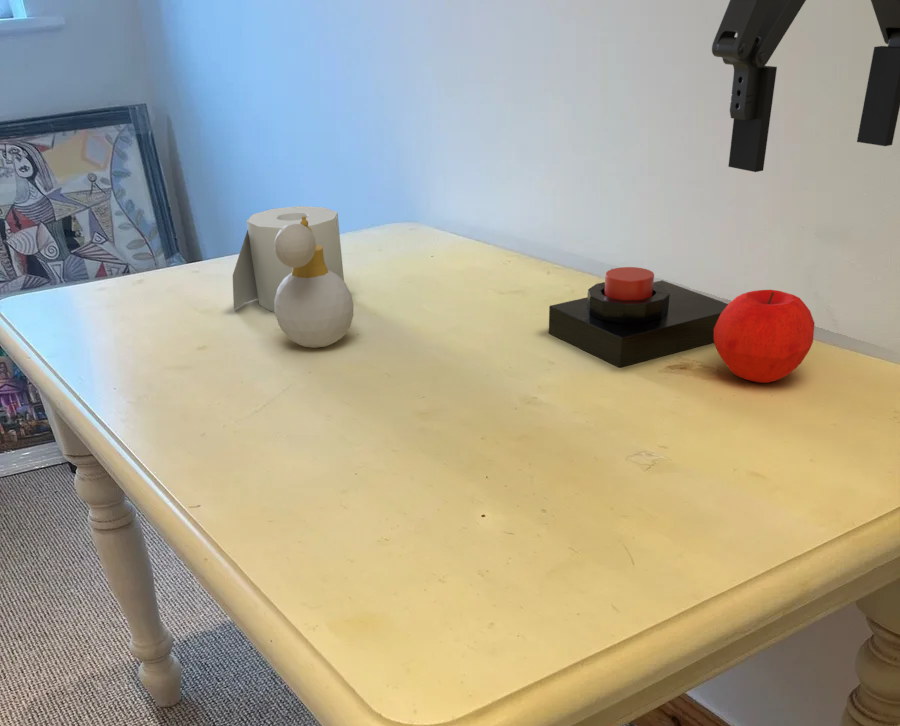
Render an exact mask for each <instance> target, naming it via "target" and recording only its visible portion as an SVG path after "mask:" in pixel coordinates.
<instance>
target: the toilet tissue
mask: <svg viewBox="0 0 900 726" xmlns="http://www.w3.org/2000/svg"><path fill="white" fill-rule="evenodd" d="M303 216H305V217H306V220H307V221H308V227H309V228H311V230H312V234H313V235H314V238H315V242H316V244H317V245H321V246H322V247H323V255H324V262H325V265H326V267H327V269H328V270H329V271H331V272H333V273H335V274H337V275H338V276H339V277H340V278H341V279H342V280H343V281H344V282H345V277H344V265H343V254H342V246H341V245H342V244H341V234H340V225H339V213H338V211H335V210H333V209H329V208H327V207H324V206H323V207H321V206H306V205H297V206H287V207H278V208H270V209H267V210H263V211H260V212H256V213H253V214H251V216H250V217H249V218H248V219H247V220H246V228H247V230H246V233H245V236H244V240H243V242H242V246H241V249H240V251H239V255H238V258H237V262H236V263H235V267H234V270H233V273H232V294H233V295H232V298H233V299H232V300H233V311H236V310H237V309H239V308H240V307H241V306H243V305H244V304H246V303H249V302H251V301H254V300H257V301H258V305H259V306H261V307H262V308H264V309H266V310H268V311H269V312H274V300H275V296H276V293H277V289H278V287H279V286H280V284H281V283H282V281H283V280H284V278H285V277H287V276H288V275H289V274H290V273H292V269H293V267H288V266H286V265H285V264H283V263H282V262H281V261H280V260H279V259H278V257H277V256H276V253H275V249H274V241H275V238H276V235H277V234H278V232H279V231H280V230H281V229H282V228H283V227H285V226H287V225H289V224H300V223H301V221H302V217H303Z"/></svg>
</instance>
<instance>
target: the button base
mask: <svg viewBox="0 0 900 726" xmlns="http://www.w3.org/2000/svg"><path fill="white" fill-rule="evenodd" d="M604 290H605V281H604V282H603V281H602V282H598V283H595V284H594V285H592V286H591V287H589V288H588V289H587V297H583V298H577V299H573V300H568V301H565V302H561V303H555V304H552V305H551V304H550V305H549V309H548V310H549V311H548V334H550V335H552V336H553V337H555V338H558V339H559V340H562V341H564V342H565V343H568V344H570V345H572V346H575V347H576V348H577V349H580V350H583V351H585V352H586V353H589V354H591V355H593V356H595V357H597V358H599V359H601V360H603V361H605V362H606V363H607V362H608V363H610V364H612V365H614V366H616V367H618V368H624V367H627V366H630V365H634V364H637V363H642V362H646V361H650V360H652V359H658V358H660V357H664V356H668V355H672V354H675V353H679V352H683V351H686V350H691V349H694V348H698V347H702V346H705V345H709V344H713V343H714V327H715V325H716V323H717V321H718V318H719V316H720V314H721V313H722V311H723V310H724V309H725V308H726V306H727V305H728V304H729V303H727V302H724V301H721V300H718V299H715V298H713V297H710V296H708V295H704V294H701V293H699V292H696V291H693V290H690V289H688V288H685V287H683V286H679V285H676V284H673V283H671V282H668V281H666V280H658V281H654V283H653V294H652V297H650V298H646V299H642V300H620V299H612V298H610V297H607V296H605V295H604Z"/></svg>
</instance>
